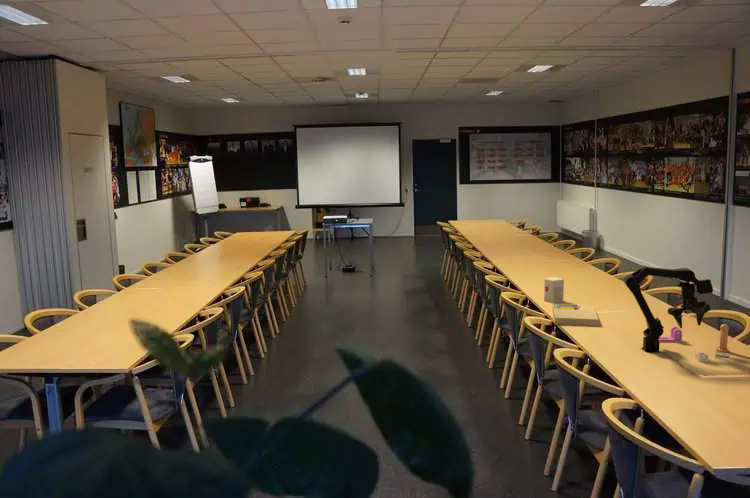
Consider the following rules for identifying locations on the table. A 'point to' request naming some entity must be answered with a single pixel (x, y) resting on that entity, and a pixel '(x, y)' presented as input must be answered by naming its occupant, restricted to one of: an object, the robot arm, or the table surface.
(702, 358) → the die
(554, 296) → the supplement box
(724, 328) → the pawn
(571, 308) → the puzzle box
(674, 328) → the bracket
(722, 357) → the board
